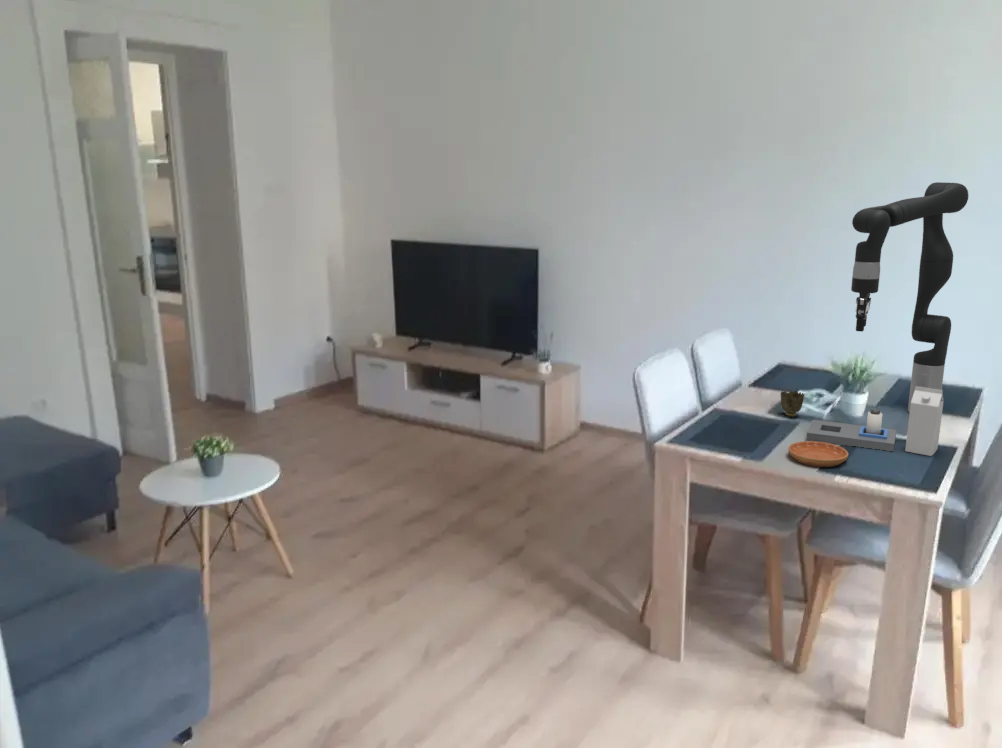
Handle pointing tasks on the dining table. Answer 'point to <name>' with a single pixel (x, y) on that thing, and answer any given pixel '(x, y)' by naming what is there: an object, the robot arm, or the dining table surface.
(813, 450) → the saucer
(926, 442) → the milk carton
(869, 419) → the capped white bottle
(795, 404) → the cup
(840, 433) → the block with square holes
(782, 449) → the dining table surface
